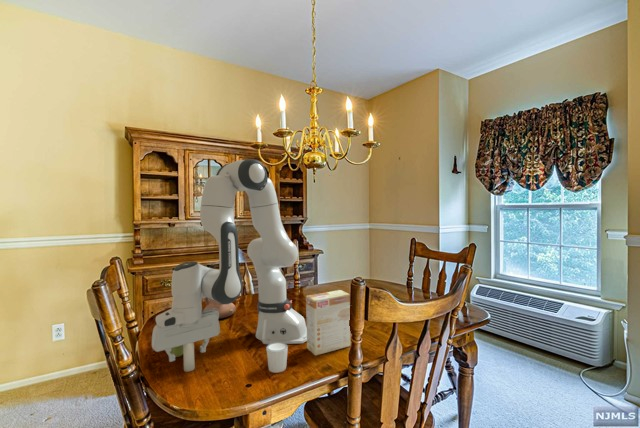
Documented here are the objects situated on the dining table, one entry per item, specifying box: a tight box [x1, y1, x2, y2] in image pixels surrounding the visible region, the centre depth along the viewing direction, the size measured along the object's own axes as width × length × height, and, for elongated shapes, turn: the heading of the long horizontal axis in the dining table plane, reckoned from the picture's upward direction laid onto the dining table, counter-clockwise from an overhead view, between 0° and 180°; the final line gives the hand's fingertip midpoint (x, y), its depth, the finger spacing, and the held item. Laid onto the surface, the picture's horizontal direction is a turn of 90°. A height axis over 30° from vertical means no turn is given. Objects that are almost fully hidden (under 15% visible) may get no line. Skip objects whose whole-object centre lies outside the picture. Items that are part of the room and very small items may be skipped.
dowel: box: [182, 342, 196, 372], centre depth 101 cm, size 3×3×10 cm
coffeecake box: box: [305, 289, 352, 356], centre depth 115 cm, size 15×7×20 cm, turn 118°
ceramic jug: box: [203, 297, 237, 320], centre depth 150 cm, size 18×14×14 cm
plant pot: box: [167, 345, 183, 358], centre depth 112 cm, size 9×9×9 cm
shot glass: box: [266, 342, 289, 374], centre depth 101 cm, size 7×7×7 cm
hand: (187, 356), depth 101 cm, fingers open, 8 cm apart
